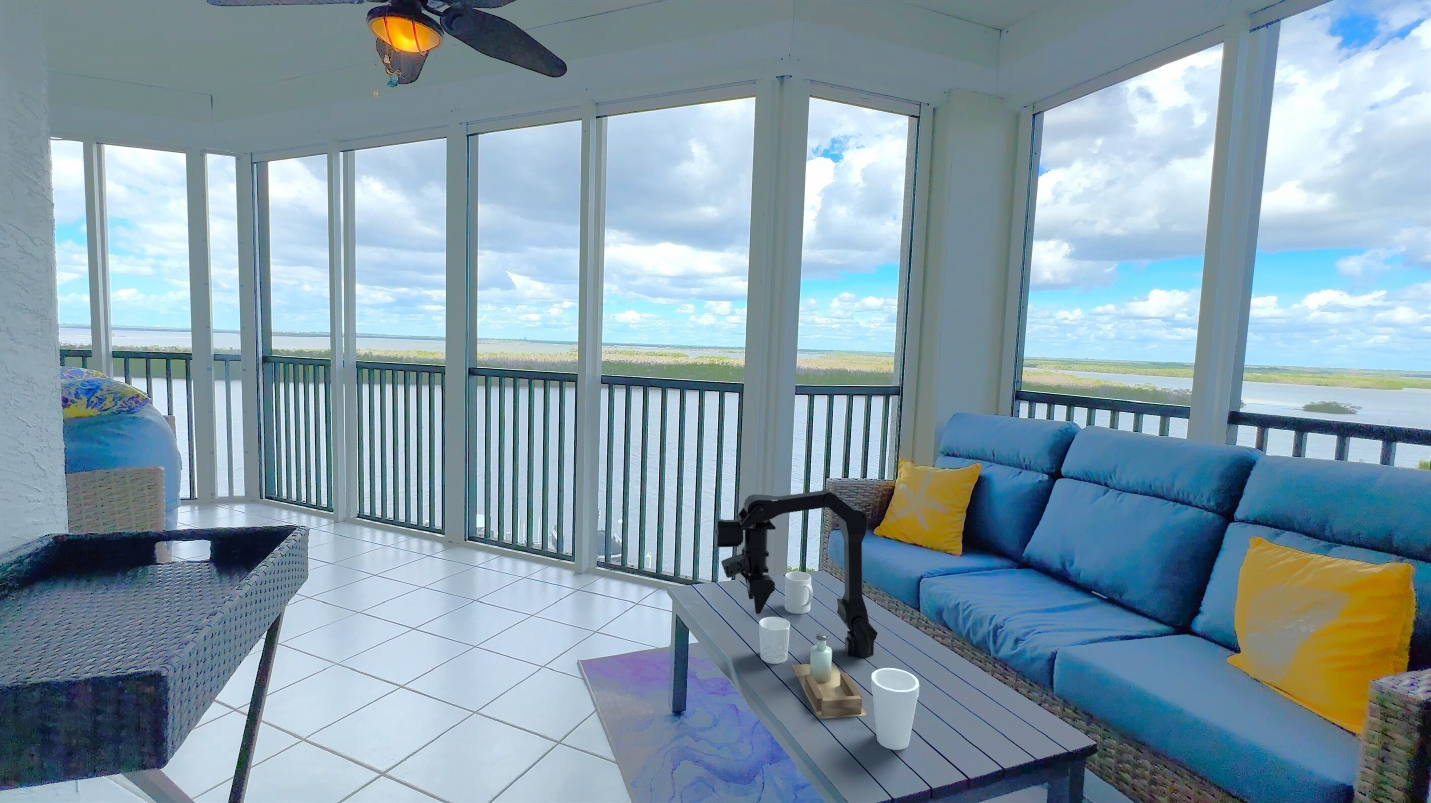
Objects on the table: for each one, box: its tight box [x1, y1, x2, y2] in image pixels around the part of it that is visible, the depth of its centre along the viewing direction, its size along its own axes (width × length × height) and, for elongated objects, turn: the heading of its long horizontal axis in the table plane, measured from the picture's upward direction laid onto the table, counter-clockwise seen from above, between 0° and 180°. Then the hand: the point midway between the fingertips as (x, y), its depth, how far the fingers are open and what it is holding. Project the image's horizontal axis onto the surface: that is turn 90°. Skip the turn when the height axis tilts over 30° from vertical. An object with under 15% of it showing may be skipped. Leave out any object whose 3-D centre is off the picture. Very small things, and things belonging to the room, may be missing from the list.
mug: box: [784, 571, 814, 615], centre depth 192 cm, size 12×8×10 cm, turn 21°
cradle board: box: [791, 662, 868, 720], centre depth 147 cm, size 11×23×4 cm, turn 8°
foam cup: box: [870, 667, 920, 751], centre depth 129 cm, size 10×9×13 cm
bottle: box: [809, 632, 833, 683], centre depth 152 cm, size 5×5×10 cm
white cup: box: [758, 616, 791, 665], centre depth 161 cm, size 8×8×10 cm
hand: (754, 606), depth 160 cm, fingers open, 9 cm apart
